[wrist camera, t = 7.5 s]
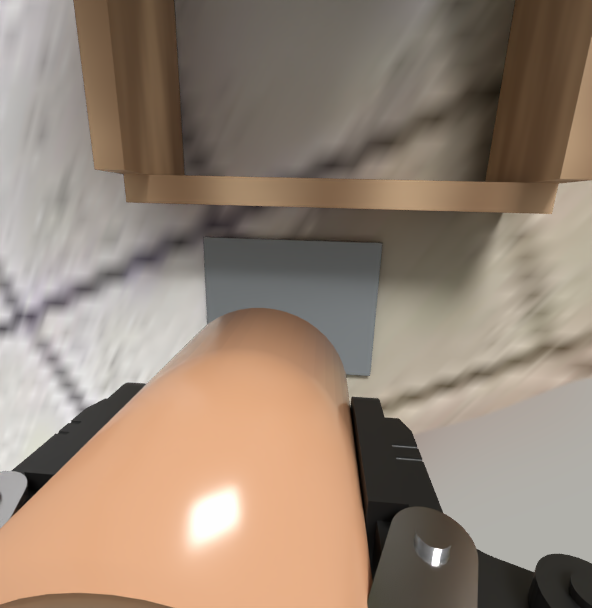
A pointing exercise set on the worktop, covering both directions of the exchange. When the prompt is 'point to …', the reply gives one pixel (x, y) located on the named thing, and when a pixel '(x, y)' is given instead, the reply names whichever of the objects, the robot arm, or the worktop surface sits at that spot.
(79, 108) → the worktop surface
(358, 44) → the worktop surface
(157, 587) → the tan cylinder
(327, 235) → the worktop surface
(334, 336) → the mat
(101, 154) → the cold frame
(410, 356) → the worktop surface
